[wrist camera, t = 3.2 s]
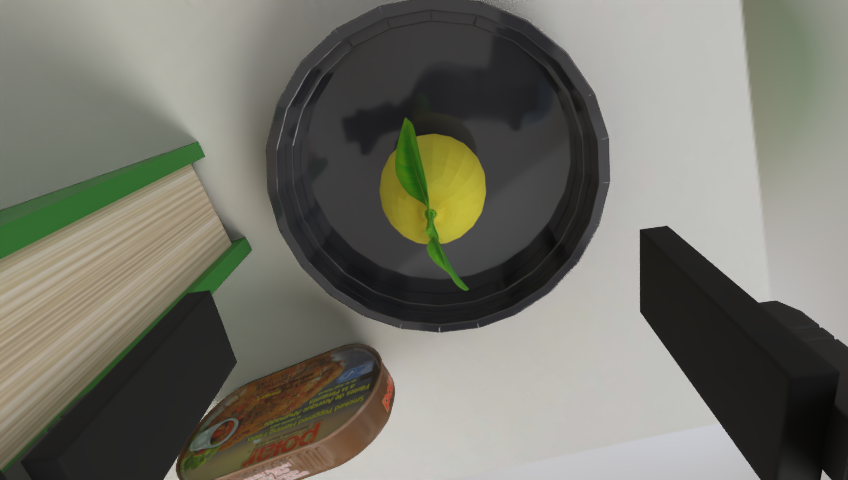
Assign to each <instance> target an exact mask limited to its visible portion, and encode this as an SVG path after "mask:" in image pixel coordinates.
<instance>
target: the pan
mask: <svg viewBox="0 0 848 480" xmlns="http://www.w3.org/2000/svg"><path fill="white" fill-rule="evenodd" d="M405 117H406V118H407V119H408V120H409V121H410V122H411V123H412V124H413V127H414V130H415V134H416V137H417V136H421V135H428V134H439V135H444V136H450V137H452V138H454V139H456V140H458V141H460V142H462V143H464V144H465V145H466V146H467V147H468V148H469V149H470V150H471V151H472V152H473V153H474V154H475V155H476V156H477V158H478V160H479V162H480V164H481V166H482V168H483V171H484V174H485V185H486V196H485V200H484V205H483V209H482V212H481V214H480V216H479V217H478V219H477V221H476V222H475V224H474V226H472V227H471V228H470V229H469V230H468V231H467V232H466V233H465V234H463V235H462V236H461V237H460V238H457V239H455V240H453V241H451V242H448V243H444V244H441V246H442V249H443V251H444V253H445V255H446V257H447V259H448V261H449V263H450V265H451V266H452V268H453V270H454V271H455V273H456V274H457V275H458V277H459V278H460V279H461V280H462V281H463V283H464V284H465V285H466V286H467V287H468V288H469V289H468V290H463V289H461V288H460V287H459V286H458V285H456V283H455V282H454V281H453V279H452V277H451V275H450V274H449V273H447V272H446V271H445V270H444V269H442V268H441V267H440V266H438V265H437V264H436V263H435V262H434V261H433V260H432V258H431V257H430V256H429V254H428V251H427V245H428V244H422V243H416V242H414V241H412V240H410V239H408V238H406V237H404V236H403V235H402V234H401V233H400V232H399V231H398V230H397V229H395V228H394V227H393V226H392V225H391V223H390V221H389V220H388V218H387V216H386V214H385V212H384V211H383V207H382V202H381V197H380V183H381V175H382V171H383V169H384V167H385V164H386V162H387V160H388V158H389V156H390V155H391V154H392V153H393V152H394V151H395V150H396V148H397V144H398V140H399V136H400V132H401V129H402V126H403V122H404V119H405ZM266 147H267V148H266V156H267V189H268V194H269V197H270V201H271V204H272V207H273V211H274V214H275V217H276V221H277V224H278V227H279V231H280V233H281V234H282V236H283V238H284V239H285V241H286V243H287V244H288V246H289V248H290V249H291V251H292V252H293V254H294V256H295V257H296V259H297V261H298V262H299V264H300V266H301V267H302V268H303V269H304V270H305V271H306V272H307V273H308V274H309V275H310V276H311V277H312V278H313V279H314V280H315V281H316V282H317V283H318V284H319V285H320V286H321V287H322V288H323V289H324V290H325V291H326V292H327V293H328V294H329V295H330V296H332V297H333V298H335V299H337V300H338V301H340V302H341V303H343V304H345V305H346V306H348V307H350V308H351V309H353V310H354V311H356V312H358V313H359V314H361V315H364V316H365V317H368V318H371V319H374V320H377V321H380V322H383V323H386V324H389V325H392V326H395V327H398V328H401V329H410V330H419V331H429V332H449V331H457V330H465V329H474V328H480V327H483V326H486V325H489V324H491V323H494V322H497V321H500V320H503V319H505V318H508V317H511V316H514V315H516V314H518V313H519V312H521V311H522V310H524V309H526V308H527V307H529V306H530V305H532V304H533V303H535V302H536V301H538V300H539V299H541V298H542V297H544V296H545V295H547V294H548V293H550V291H552V290H553V289H554V288H555V287H556V286H557V285H558V284H559V283H560V282H561V281H562V279H563V278H564V277H565V276H566V275H567V274H568V273H569V272H570V271H571V270H572V269H573V268H574V267H575V266H576V265H577V263H578V262H579V261H580V259H581V257H582V256H583V254H584V252H585V250H586V248H587V247H588V245H589V243H590V241H591V239H592V237H593V236H594V234H595V232H596V230H597V228H598V227H599V224H600V220H601V216H602V212H603V208H604V204H605V200H606V196H607V192H608V188H609V184H610V183H609V182H610V163H609V138H608V133H607V130H606V127H605V124H604V121H603V118H602V114H601V111H600V108H599V105H598V102H597V99H596V96H595V93H594V91H593V90H592V88H591V87H590V85H589V84H588V82H587V81H586V79H585V78H584V76H583V75H582V74H581V72H580V71H579V69H578V68H577V66H576V65H575V63H574V62H573V60H572V59H571V57H570V56H569V54H568V53H567V52H566V51H565V50H564V49H562V48H561V47H560V46H559V45H558V44H556V43H555V42H554V41H553V40H551V39H550V38H549V37H548V36H546V35H545V34H544V33H543V32H542V31H540V30H539V29H538V28H537V27H535V26H534V25H533V24H532V23H531V22H528V21H527V20H525V19H523V18H520V17H518V16H516V15H513V14H511V13H508V12H506V11H503V10H501V9H499V8H496V7H494V6H491V5H489V4H487V3H484V2H481V1H473V0H407V1H402V2H397V3H392V4H387V5H381V6H378V7H377V8H375V9H373V10H371V11H369V12H367V13H365V14H363V15H361V16H359V17H357V18H355V19H353V20H352V21H350V22H348V23H346V24H344V25H342V26H340V27H338V28H336V30H334V31H333V32H332V33H331V34H329V35H328V36H327V37H326V38H325V39H324V40H323V41H322V42H321V43H320V44H319V45H318V46H317V47H316V48H315V49H314V50H313V51H312V52H311V53H310V54H309V55H308V56H307V57H306V58H305V59H304V60H303V61H301V63H300V64H299V66H298V68H297V69H296V71H295V73H294V75H293V76H292V78H291V80H290V82H289V83H288V85H287V87H286V89H285V90H284V92H283V94H282V96H281V97H280V99H279V101H278V104H277V105H276V109H275V113H274V117H273V122H272V126H271V130H270V134H269V138H268V142H267V146H266Z"/></svg>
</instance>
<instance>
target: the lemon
mask: <svg viewBox="0 0 848 480" xmlns="http://www.w3.org/2000/svg"><path fill="white" fill-rule="evenodd" d="M485 196H486V185H485V174H484V171H483V168H482V166H481V164H480V162H479V160H478V158H477V156H476V155H475V154H474V153H473V152H472V151H471V150H470V149H469V148H468V147H467V146H466V145H465V144H464V143H462V142H460V141H458V140H456V139H454V138H452V137H450V136H444V135H439V134H428V135H421V136H417V137H416V134H415V130H414V127H413V124H412V123H411V122H410V121H409V120H408V119H407V118H406V117H405V119H404V122H403V126H402V129H401V132H400V136H399V140H398V144H397V148H396V150H395V151H394V152H393V153H392V154H391V155H390V156H389V158H388V160H387V162H386V164H385V167H384V169H383V171H382V175H381V183H380V197H381V202H382V207H383V211H384V212H385V214H386V216H387V218H388V220H389V221H390V223H391V225H392V226H393V227H394V228H395V229H397V230H398V231H399V232H400V233H401V234H402V235H403V236H404V237H406V238H408V239H410V240H412V241H414V242H416V243H422V244H428V245H427V251H428V254H429V256H430V257H431V258H432V260H433V261H434V262H435V263H436V264H437V265H438V266H440V267H441V268H442V269H444V270H445V271H446V272H447V273H449V274H450V275H451V277H452V279H453V281H454V282H455V283H456V285H458V286H459V287H460V288H461V289H463V290H468V289H469V288H468V287H467V286H466V285H465V284H464V283H463V281H462V280H461V279H460V278H459V277H458V275H457V274H456V273H455V271H454V270H453V268H452V266H451V265H450V263H449V261H448V259H447V257H446V255H445V253H444V251H443V249H442V246H441V244H444V243H448V242H451V241H453V240H455V239H457V238H460V237H461V236H462V235H463V234H465V233H466V232H467V231H468V230H469V229H470V228H471V227H472V226H474V224H475V222H476V221H477V219H478V217H479V216H480V214H481V212H482V209H483V205H484V200H485Z"/></svg>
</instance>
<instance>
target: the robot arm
mask: <svg viewBox="0 0 848 480" xmlns="http://www.w3.org/2000/svg"><path fill="white" fill-rule="evenodd" d="M640 312H641V314H642V315H643V316H644V318H645V319H646V321H647V322H648V323H649V325H650V326H651V328H652V329H653V330H654V332H655V333H656V335H657V336H658V337H659V339H660V340H661V342H662V343H663V344H664V346H665V347H666V348H667V350H668V351H669V353H670V354H671V355H672V357H673V358H674V360H675V361H676V362H677V364H678V365H679V367H680V368H681V369H682V371H683V372H684V374H685V375H686V376H687V378H688V379H689V381H690V382H691V383H692V385H693V386H694V388H695V389H696V390H697V392H698V393H699V394H700V396H701V397H702V399H703V400H704V401H705V403H706V404H707V406H708V407H709V408H710V410H711V411H712V413H713V414H714V415H715V417H716V418H717V420H718V421H719V422H720V424H721V425H722V427H723V428H724V429H725V431H726V432H727V433H728V435H729V436H730V438H731V439H732V440H733V442H734V443H735V445H736V446H737V447H738V449H739V450H740V452H741V453H742V454H743V456H744V457H745V459H746V460H747V461H748V463H749V464H750V465H751V467H752V468H753V470H754V471H755V473H756V474H757V475H758V477H759V478H760V479H761V480H821V474H822V469H823V470H824V472H825V473H826V474H827V475H828V476H829V477H830V478H831V480H848V347H847V346H846V345H845V344H843V343H842V342H840V341H839V340H838V339H836V340H835V339H834V336H833V335H832V334H830V333H829V332H828V331H826V330H825V329H823V328H820V327H819V324H817V323H816V322H814V321H813V320H812V319H810V318H809V317H808V316H807V315H805V314H804V313H803V312H802V311H800V310H797V309H795V308H792V307H790V306H788V305H785V304H783V303H780V302H778V301H769V302H761V303H758V302H757V301H756V300H754V299H753V298H752V297H751V296H750V295H749V294H747V293H746V292H745V291H744V290H743V289H741V288H740V287H739V286H738V285H737V284H736V283H734V282H733V281H732V280H731V279H730V278H728V277H727V276H726V275H725V274H724V273H722V272H721V271H720V270H719V269H718V268H717V267H715V266H714V265H713V264H712V263H711V262H709V261H708V260H707V259H706V258H705V257H704V256H702V255H701V254H700V253H699V252H698V251H696V250H695V249H694V248H693V247H692V246H691V245H689V244H688V243H687V242H686V241H685V240H683V239H682V238H681V237H680V236H679V235H678V234H676V233H675V232H674V231H673V230H672V229H670V228H669V227H668V226H663V227H655V228H648V229H641V230H640ZM236 363H237V361H236V358H235V355H234V353H233V350H232V348H231V345H230V342H229V340H228V337H227V334H226V332H225V329H224V326H223V324H222V321H221V318H220V316H219V313H218V310H217V308H216V305H215V302H214V300H213V297H212V294H211V292H210V290H206V291H199V292H192V293H186V295H185V296H184V297H183V298H182V299H181V300H180V301H179V302H178V303H177V304H176V305H175V306H174V307H173V308H172V309H171V310H170V311H169V312H168V313H167V314H166V315H165V316H164V317H163V318H162V319H161V320H160V321H159V322H158V323H157V324H156V325H155V326H154V327H153V328H152V329H151V330H150V331H149V332H148V333H147V334H146V335H145V336H144V337H143V338H142V339H141V340H140V341H139V342H138V343H137V344H136V345H135V346H134V347H133V348H132V349H131V350H130V351H129V352H128V353H127V354H126V355H125V356H124V357H123V358H122V359H121V360H120V361H119V362H118V363H117V364H116V365H115V366H114V367H113V368H112V369H111V370H110V371H109V372H108V373H107V374H106V375H105V376H104V377H103V378H102V379H101V380H100V381H99V382H98V383H97V385H96V386H95V387H94V388H93V389H91V390H90V391H89V392H87V393H86V394H84V395H83V396H81V397H80V398H78V399H77V400H76V401H74V402H73V403H72V404H71V405H70V406H69V407H68V408H67V409H66V410H65V411H64V412H63V413H62V414H61V415H60V419H56V420H55V421H54V422H53V423H52V424H51V425H50V426H49V427H48V428H47V432H43V433H42V434H41V435H40V436H39V437H38V438H37V439H36V440H35V441H34V442H33V443H32V444H31V445H30V446H29V447H28V448H27V449H26V450H25V451H24V452H23V453H22V454H21V455H20V456H19V457H18V458H17V459H16V460H15V461H14V462H13V463H12V464H11V465H10V466H9V467H8V468H7V469H6V470H5V471H4V472H2V471H1V469H0V480H163V479H164V478H165V476H166V475H167V473H168V471H169V470H170V468H171V467H172V465H173V463H174V462H175V460H176V459H177V457H178V455H179V454H180V452H181V451H182V449H183V447H184V446H185V444H186V443H187V441H188V439H189V438H190V436H191V435H192V433H193V431H194V430H195V428H196V427H197V425H198V423H199V422H200V420H201V419H202V417H203V415H204V414H205V412H206V411H207V409H208V408H209V406H210V404H211V403H212V401H213V400H214V398H215V396H216V395H217V393H218V392H219V390H220V388H221V387H222V385H223V384H224V382H225V380H226V379H227V377H228V376H229V374H230V372H231V371H232V369H233V368H234V366H235V364H236Z"/></svg>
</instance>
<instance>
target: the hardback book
mask: <svg viewBox="0 0 848 480" xmlns="http://www.w3.org/2000/svg"><path fill="white" fill-rule="evenodd" d="M203 157H205V155H204V153H203V151H202V149H201V147H200V145H199V143H198V142H196V143H193V144H190V145H187V146H184V147H181V148H178V149H176V150H173V151H170V152H167V153H164V154H161V155H158V156H156V157H153V158H150V159H147V160H144V161H141V162H138V163H135V164H133V165H130V166H127V167H124V168H121V169H118V170H115V171H112V172H110V173H107V174H104V175H101V176H98V177H95V178H92V179H90V180H87V181H84V182H81V183H78V184H75V185H72V186H69V187H67V188H64V189H61V190H58V191H55V192H52V193H49V194H46V195H44V196H41V197H38V198H35V199H32V200H29V201H26V202H24V203H21V204H18V205H15V206H12V207H9V208H6V209H3V210H1V211H0V469H1V471H2V472H4V471H5V470H6V469H7V468H8V467H9V466H10V465H11V464H12V463H13V462H14V461H15V460H16V459H17V458H18V457H19V456H20V455H21V454H22V453H23V452H24V451H25V450H26V449H27V448H28V447H29V446H30V445H31V444H32V443H33V442H34V441H35V440H36V439H37V438H38V437H39V436H40V435H41V434H42V433H43V432H47V428H48V427H49V426H50V425H51V424H52V423H53V422H54V421H55V420H56V419H60V415H61V414H62V413H63V412H64V411H65V410H66V409H67V408H68V407H69V406H70V405H71V404H72V403H73V402H74V401H76V400H77V399H78V398H80V397H81V396H83V395H84V394H86V393H87V392H89V391H90V390H91V389H93V388H94V387H95V386H96V385H97V383H98V382H99V381H100V380H101V379H102V378H103V377H104V376H105V375H106V374H107V373H108V372H109V371H110V370H111V369H112V368H113V367H114V366H115V365H116V364H117V363H118V362H119V361H120V360H121V359H122V358H123V357H124V356H125V355H126V354H127V353H128V352H129V351H130V350H131V349H132V348H133V347H134V346H135V345H136V344H137V343H138V342H139V341H140V340H141V339H142V338H143V337H144V336H145V335H146V334H147V333H148V332H149V331H150V330H151V329H152V328H153V327H154V326H155V325H156V324H157V323H158V322H159V321H160V320H161V319H162V318H163V317H164V316H165V315H166V314H167V313H168V312H169V311H170V310H171V309H172V308H173V307H174V306H175V305H176V304H177V303H178V302H179V301H180V300H181V299H182V298H183V297H184V296H185V295H186V293H192V292H199V291H206V290H210V292H211V294H213V293H214V291H215V290H216V289H217V288H218V287H219V286H220V285H221V284H222V283H223V281H224V280H225V279H226V278H227V277H228V276H229V275H230V274H231V273H232V271H233V270H234V269H235V268H236V267H237V266H238V265H239V264H240V263H241V262H242V260H243V259H244V258H245V257H246V256H247V255H248V254H249V253H250V252H251V250H252V249H251V247H250V245H249V243H248V241H247V239H246V237H245V238H242V239H239V240H236V241H232V242H231V241H230V239H229V237H228V235H227V233H226V231H225V229H224V227H223V225H222V223H221V221H220V219H219V217H218V216H217V214H216V212H215V210H214V208H213V206H212V204H211V202H210V200H209V198H208V196H207V194H206V192H205V190H204V188H203V186H202V184H201V182H200V180H199V178H198V177H197V175H196V173H195V171H194V169H193V167H192V165H191V163H193V162H195V161H197V160H199V159H201V158H203Z"/></svg>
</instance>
